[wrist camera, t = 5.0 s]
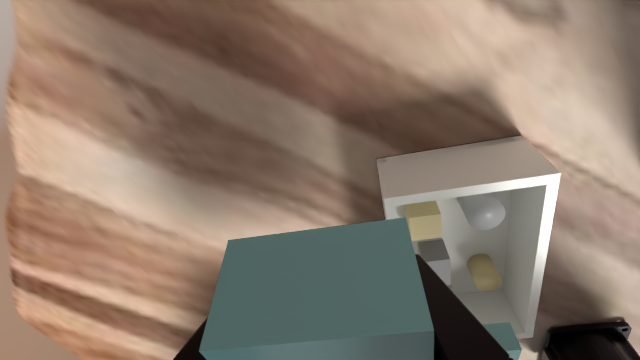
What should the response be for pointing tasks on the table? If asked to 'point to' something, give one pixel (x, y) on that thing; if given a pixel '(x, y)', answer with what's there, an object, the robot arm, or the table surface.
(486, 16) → the table surface
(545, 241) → the tub
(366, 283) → the lid
